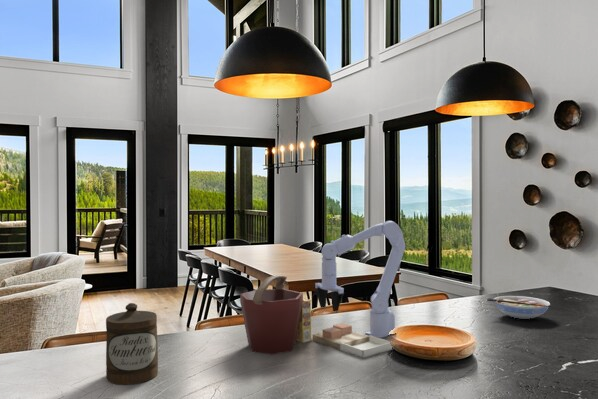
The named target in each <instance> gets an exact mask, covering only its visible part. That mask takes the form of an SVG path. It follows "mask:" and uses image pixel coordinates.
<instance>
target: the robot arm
mask: <svg viewBox="0 0 598 399" xmlns="http://www.w3.org/2000/svg"><path fill="white" fill-rule="evenodd" d="M383 235H384V236H385V237H386V239H388V242H389V243H390V245H391V250H390V254H389V255H388V259H387V261H386V265H385V267H384V269H383V273H382V276H381V278H380V281H379V284H378V286H377V287H376V290H375V291H374V293H373V294H372V295H371V296H370V302H371V308H370V309H369V314H370V315H369V331H365V333H364V334H365V335H368V336H369V335H371V336H375V337H378V338H381V339H383V338H384V337H389V336H388V334H389V332H390V331H391V330H393V329H394V328H395V327H396V326H395V324H396V320H395V314H394V312H393V311H392V310H391V309H389V298H390V296H391V295H390V294H391V290H392V286H393V283H394V281H395V278H396V275H397V272H398V270H399V267H400V264H401V262H402V259H403V255H404V253H405V251H406V246H407V245H406V243H405V238H404V235H403V231H402V229H401V227H400V226H399V225H398V224H397V223H396V222H395V221H393V220H386V221H384V222H381V223H377V224H374V225H372V226H370V227H368V228H366V229H364V230H362V231H360V232H358V233H356V234H354V235H350V234H342V235H341V237H339V238H338V239H335V240H330V243H329V242H328V243H326V244H324V245H323V247H322V248H321V256H322V257H321V261H322V262H321V282H315V284H314V285H315V290H314V293H315V295H316V296H317V299H318V302H319V306H320V309H322V308H326V307H327V306H326V304H327V296H328V292H329V291H330V293H329V296H330V297H331V303H332V304H331V305H332V312H337V311H339V308H340V304H341V302H342V299H343V297H344V295H345V292H344V290H345V288H344V287H341V286H339V285H337V260H336V259H337V258H336V256H337V255H342V254H345V253H347V252H349V251H350V250H353V249H354V248H355V247H356V244H358V243H360V242H363V241H365V240H367V239H370V238H373V237H383ZM395 329H396V328H395Z"/></svg>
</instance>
